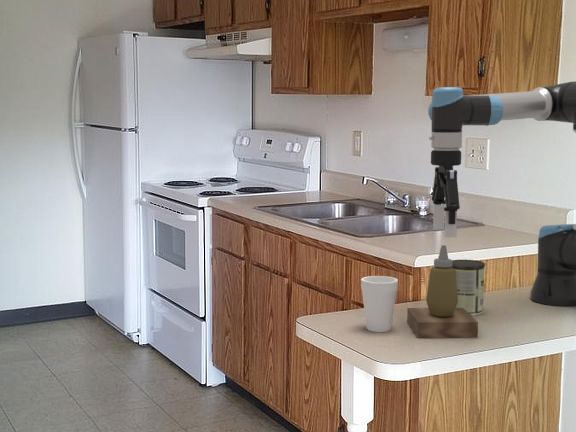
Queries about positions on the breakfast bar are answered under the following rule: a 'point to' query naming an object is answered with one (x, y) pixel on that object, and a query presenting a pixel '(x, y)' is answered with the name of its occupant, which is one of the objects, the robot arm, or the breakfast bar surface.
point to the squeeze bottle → (442, 286)
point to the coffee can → (470, 285)
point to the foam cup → (379, 301)
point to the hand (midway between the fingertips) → (444, 233)
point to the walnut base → (442, 324)
